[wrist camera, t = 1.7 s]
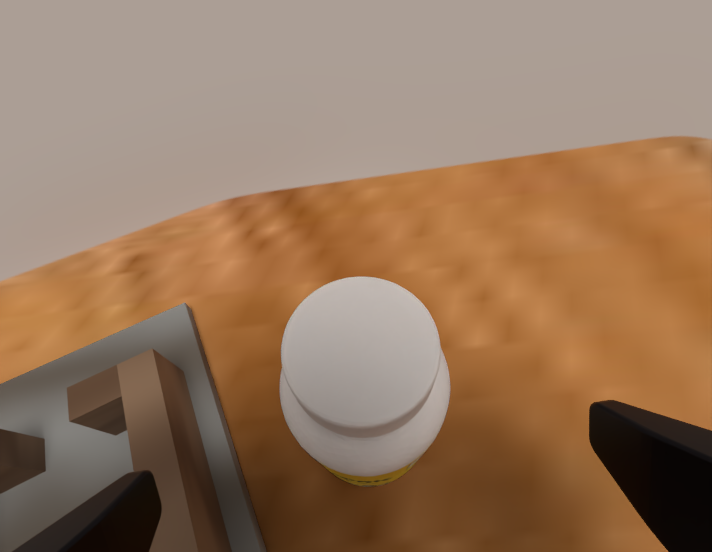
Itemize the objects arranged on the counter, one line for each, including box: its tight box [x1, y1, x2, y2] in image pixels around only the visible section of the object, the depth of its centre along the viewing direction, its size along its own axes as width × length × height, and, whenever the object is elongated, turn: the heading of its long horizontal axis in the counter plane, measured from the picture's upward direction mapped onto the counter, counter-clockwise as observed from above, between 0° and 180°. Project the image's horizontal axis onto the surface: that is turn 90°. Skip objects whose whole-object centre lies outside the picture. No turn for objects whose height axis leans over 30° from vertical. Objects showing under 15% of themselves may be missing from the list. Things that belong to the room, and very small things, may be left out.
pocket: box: [0, 303, 267, 552], centre depth 13 cm, size 18×12×4 cm, turn 28°
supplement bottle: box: [280, 277, 450, 487], centre depth 13 cm, size 5×5×10 cm
